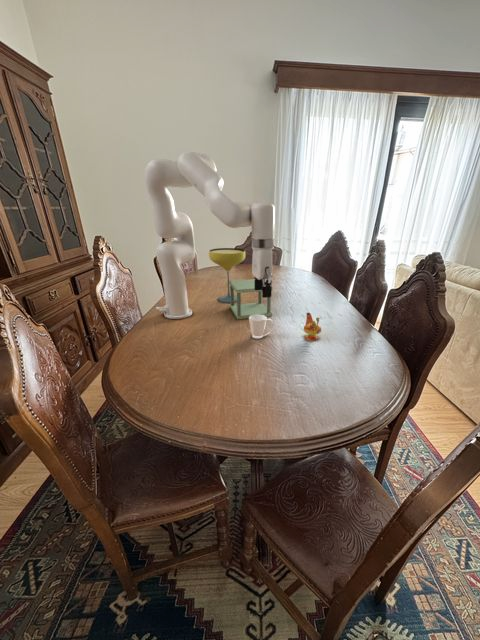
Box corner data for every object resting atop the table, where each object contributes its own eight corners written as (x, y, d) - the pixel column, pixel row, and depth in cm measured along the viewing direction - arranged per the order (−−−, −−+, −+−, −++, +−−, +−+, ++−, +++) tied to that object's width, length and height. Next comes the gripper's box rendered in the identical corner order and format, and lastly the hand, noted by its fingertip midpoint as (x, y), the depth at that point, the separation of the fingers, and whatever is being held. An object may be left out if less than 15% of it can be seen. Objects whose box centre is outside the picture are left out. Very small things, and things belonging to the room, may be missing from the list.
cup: (247, 333, 115) (247, 314, 111) (271, 331, 116) (272, 313, 113) (250, 340, 109) (250, 321, 105) (275, 339, 110) (276, 319, 107)
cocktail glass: (252, 298, 156) (252, 250, 144) (232, 307, 142) (230, 255, 130) (226, 292, 164) (224, 246, 152) (204, 300, 150) (200, 251, 139)
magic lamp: (314, 327, 122) (317, 302, 117) (324, 346, 106) (328, 318, 101) (298, 327, 121) (300, 302, 116) (306, 346, 105) (309, 318, 100)
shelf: (237, 319, 128) (236, 289, 122) (230, 307, 142) (229, 280, 135) (271, 316, 132) (272, 287, 126) (261, 305, 146) (261, 278, 140)
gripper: (245, 241, 103) (246, 288, 111) (259, 247, 88) (259, 301, 96) (265, 240, 105) (265, 286, 113) (282, 246, 90) (280, 299, 98)
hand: (262, 293), depth 105 cm, fingers open, 9 cm apart
